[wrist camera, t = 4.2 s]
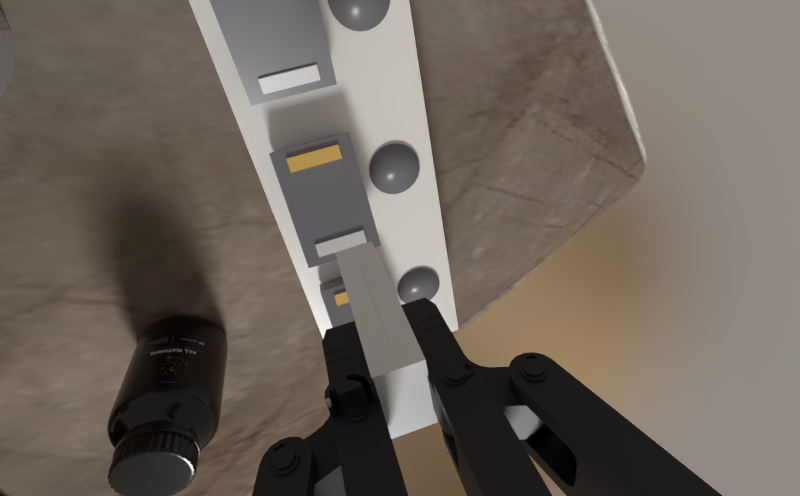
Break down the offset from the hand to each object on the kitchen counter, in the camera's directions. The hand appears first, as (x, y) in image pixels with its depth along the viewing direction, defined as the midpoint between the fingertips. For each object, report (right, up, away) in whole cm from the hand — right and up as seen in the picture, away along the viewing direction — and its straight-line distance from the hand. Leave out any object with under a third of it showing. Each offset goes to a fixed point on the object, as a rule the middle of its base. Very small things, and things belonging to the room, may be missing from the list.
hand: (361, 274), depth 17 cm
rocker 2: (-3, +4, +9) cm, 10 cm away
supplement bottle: (-17, -7, +19) cm, 26 cm away
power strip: (-3, +8, +15) cm, 17 cm away
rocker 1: (-5, +12, +3) cm, 14 cm away
